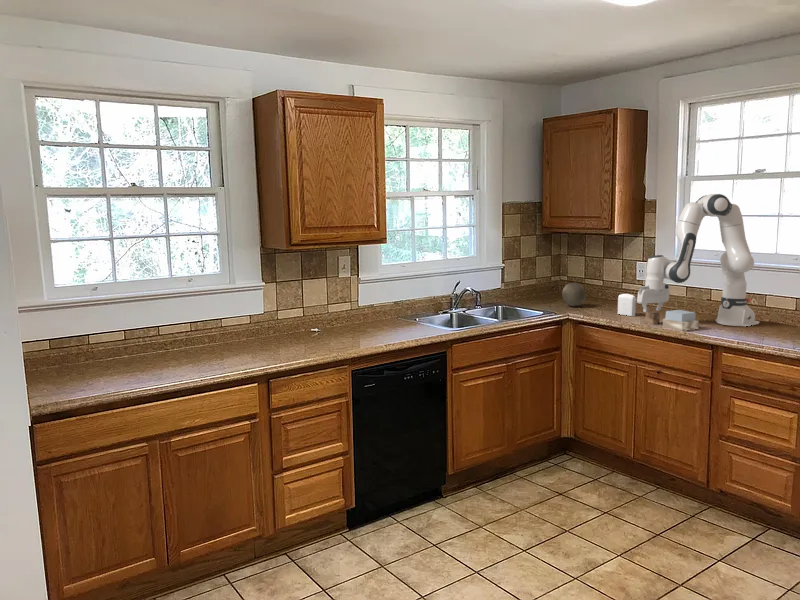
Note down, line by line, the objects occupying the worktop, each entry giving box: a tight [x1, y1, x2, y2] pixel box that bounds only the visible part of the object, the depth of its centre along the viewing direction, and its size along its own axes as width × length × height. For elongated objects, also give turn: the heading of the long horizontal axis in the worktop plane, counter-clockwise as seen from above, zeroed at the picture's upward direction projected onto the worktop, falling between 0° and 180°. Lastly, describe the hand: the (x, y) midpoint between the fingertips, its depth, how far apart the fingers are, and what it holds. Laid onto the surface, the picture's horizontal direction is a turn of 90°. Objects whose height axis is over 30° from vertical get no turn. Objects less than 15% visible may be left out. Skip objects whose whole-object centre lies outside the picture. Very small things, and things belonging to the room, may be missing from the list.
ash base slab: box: [662, 318, 700, 332], centre depth 330 cm, size 12×12×5 cm
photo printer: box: [617, 293, 637, 317], centre depth 368 cm, size 10×4×12 cm, turn 39°
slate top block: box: [664, 309, 697, 322], centre depth 330 cm, size 10×10×4 cm
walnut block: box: [644, 311, 661, 325], centre depth 343 cm, size 5×5×6 cm
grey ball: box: [561, 282, 587, 308], centre depth 398 cm, size 14×14×15 cm
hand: (651, 311), depth 343 cm, fingers open, 8 cm apart
